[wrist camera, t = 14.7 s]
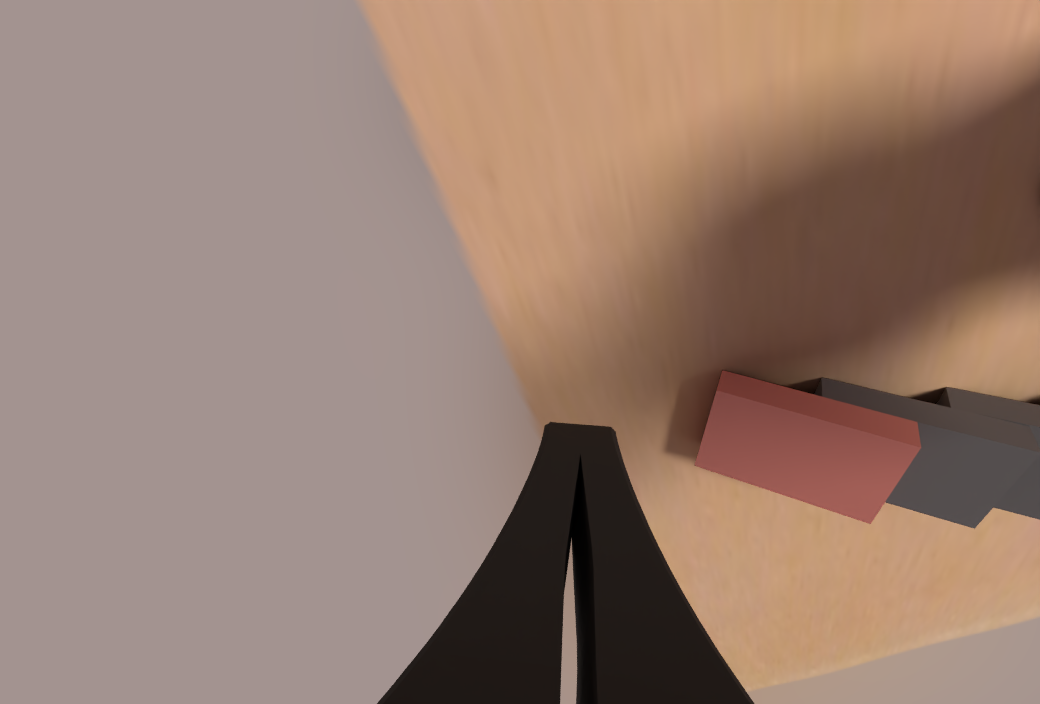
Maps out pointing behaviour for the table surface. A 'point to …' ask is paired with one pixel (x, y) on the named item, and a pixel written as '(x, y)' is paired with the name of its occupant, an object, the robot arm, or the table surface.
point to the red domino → (806, 445)
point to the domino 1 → (949, 454)
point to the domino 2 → (1036, 486)
